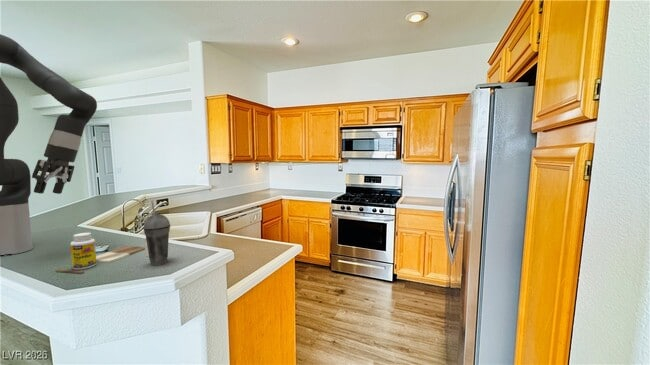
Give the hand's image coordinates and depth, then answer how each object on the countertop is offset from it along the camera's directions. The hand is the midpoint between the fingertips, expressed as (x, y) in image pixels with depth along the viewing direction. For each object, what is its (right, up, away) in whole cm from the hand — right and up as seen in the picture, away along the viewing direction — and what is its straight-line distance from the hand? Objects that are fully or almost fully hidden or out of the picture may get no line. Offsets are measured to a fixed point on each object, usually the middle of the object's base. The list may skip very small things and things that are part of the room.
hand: (47, 193), depth 88 cm
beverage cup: (+39, -22, -3) cm, 45 cm away
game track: (+19, -22, +1) cm, 29 cm away
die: (+32, -21, +5) cm, 39 cm away
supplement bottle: (+18, -22, -6) cm, 29 cm away
